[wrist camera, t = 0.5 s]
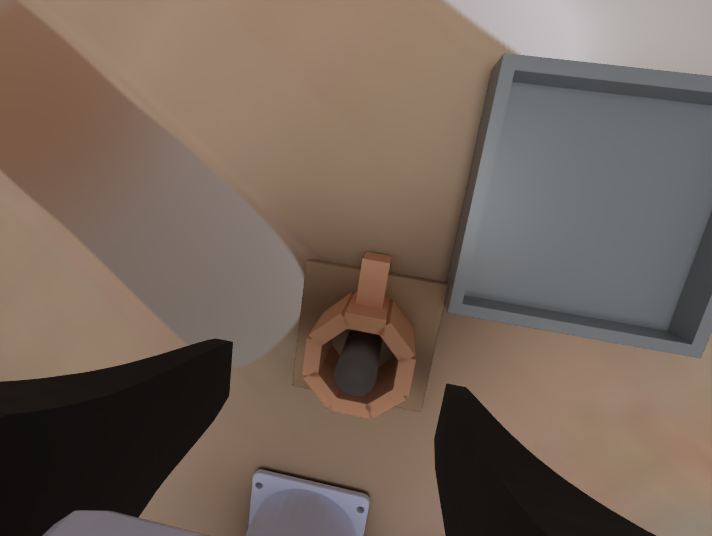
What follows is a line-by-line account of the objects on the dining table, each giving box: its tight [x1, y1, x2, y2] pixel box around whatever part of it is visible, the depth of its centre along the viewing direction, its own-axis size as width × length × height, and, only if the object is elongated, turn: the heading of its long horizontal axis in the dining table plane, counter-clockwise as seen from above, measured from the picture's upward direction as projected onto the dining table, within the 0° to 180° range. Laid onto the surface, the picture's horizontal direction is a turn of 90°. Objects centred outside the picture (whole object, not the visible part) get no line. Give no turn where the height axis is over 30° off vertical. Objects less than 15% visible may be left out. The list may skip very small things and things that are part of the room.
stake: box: [292, 259, 448, 412], centre depth 19 cm, size 8×8×5 cm
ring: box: [302, 252, 416, 419], centre depth 19 cm, size 8×5×4 cm
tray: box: [444, 53, 712, 358], centre depth 18 cm, size 12×12×2 cm
